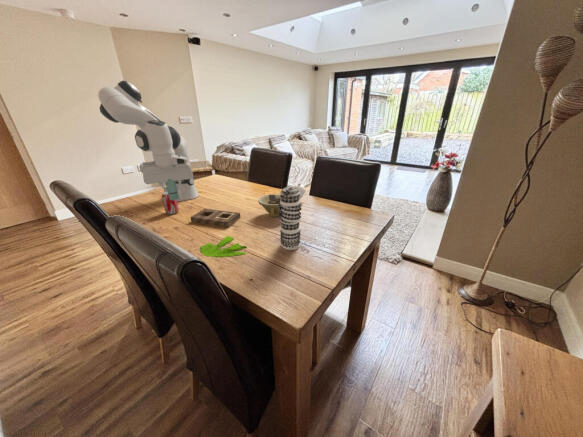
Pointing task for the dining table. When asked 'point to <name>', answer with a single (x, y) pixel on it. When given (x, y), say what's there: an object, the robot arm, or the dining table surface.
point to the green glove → (226, 252)
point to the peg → (172, 189)
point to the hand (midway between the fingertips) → (172, 190)
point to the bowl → (271, 204)
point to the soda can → (169, 204)
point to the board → (215, 217)
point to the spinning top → (300, 189)
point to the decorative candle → (290, 218)
